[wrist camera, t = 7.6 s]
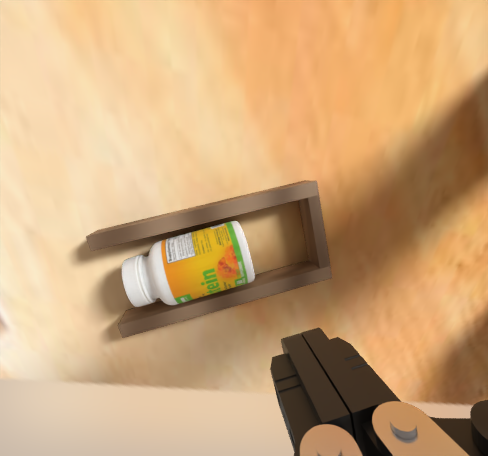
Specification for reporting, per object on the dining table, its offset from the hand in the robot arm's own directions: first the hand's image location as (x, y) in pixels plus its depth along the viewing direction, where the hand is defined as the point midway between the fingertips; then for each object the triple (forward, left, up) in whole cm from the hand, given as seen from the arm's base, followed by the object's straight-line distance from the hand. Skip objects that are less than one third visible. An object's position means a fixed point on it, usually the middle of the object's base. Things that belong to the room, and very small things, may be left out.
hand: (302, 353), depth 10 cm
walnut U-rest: (+2, 0, -16) cm, 16 cm away
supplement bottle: (0, 0, -13) cm, 13 cm away
